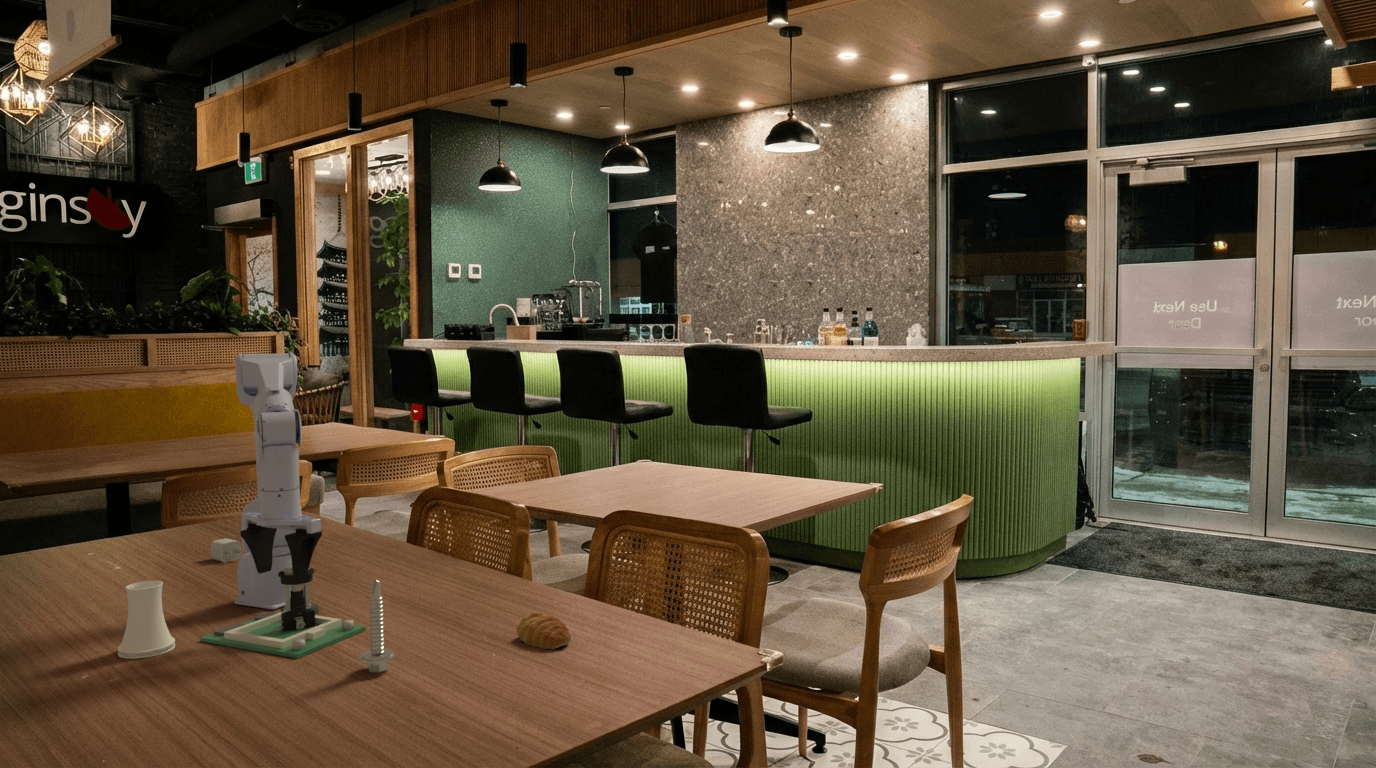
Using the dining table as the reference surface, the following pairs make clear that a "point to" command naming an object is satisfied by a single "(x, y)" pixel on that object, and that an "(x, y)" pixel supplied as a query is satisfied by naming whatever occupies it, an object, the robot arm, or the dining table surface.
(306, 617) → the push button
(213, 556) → the usb wall charger
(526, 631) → the pastry
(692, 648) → the dining table surface
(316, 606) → the dark gray round disc
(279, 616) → the circuit board
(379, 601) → the screw
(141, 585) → the cooling tower
